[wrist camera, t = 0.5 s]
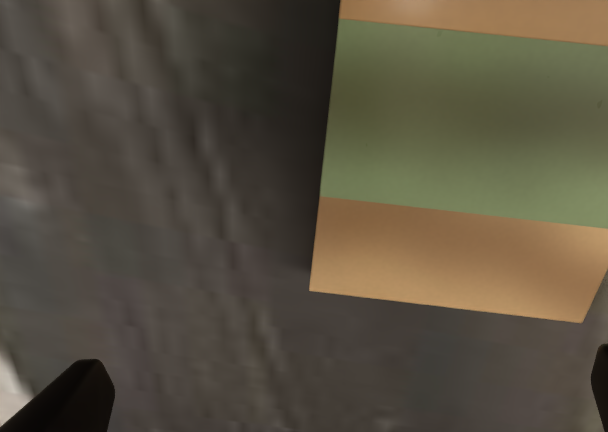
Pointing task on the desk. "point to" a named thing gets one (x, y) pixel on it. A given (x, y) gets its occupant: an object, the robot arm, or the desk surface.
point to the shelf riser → (467, 156)
